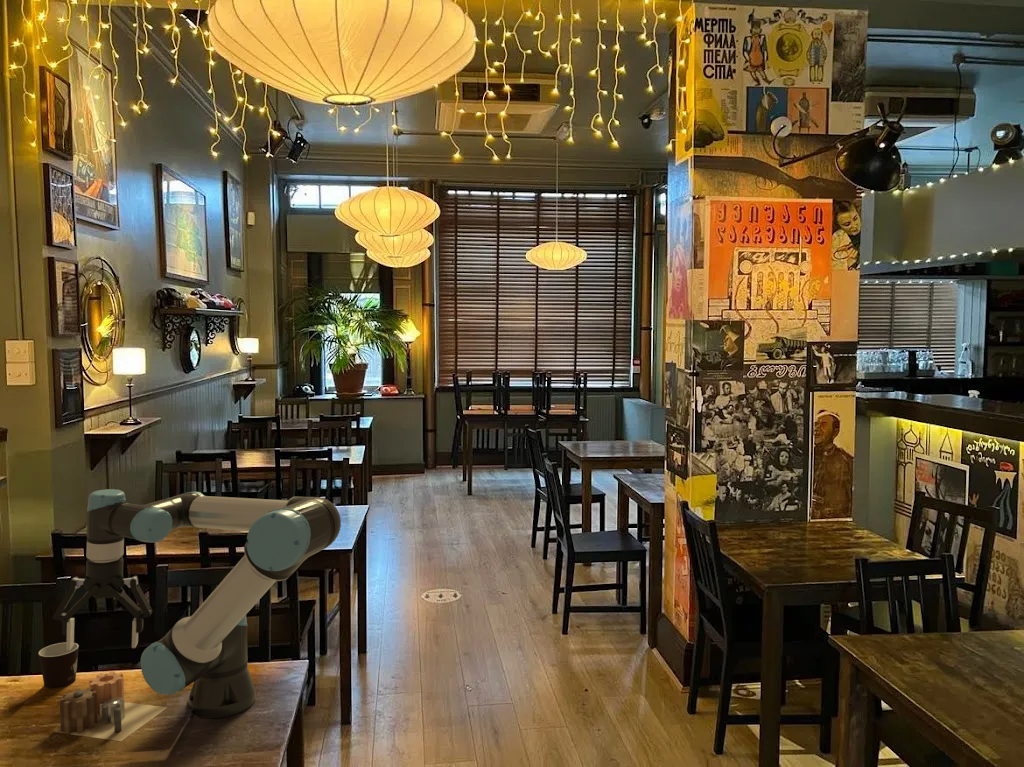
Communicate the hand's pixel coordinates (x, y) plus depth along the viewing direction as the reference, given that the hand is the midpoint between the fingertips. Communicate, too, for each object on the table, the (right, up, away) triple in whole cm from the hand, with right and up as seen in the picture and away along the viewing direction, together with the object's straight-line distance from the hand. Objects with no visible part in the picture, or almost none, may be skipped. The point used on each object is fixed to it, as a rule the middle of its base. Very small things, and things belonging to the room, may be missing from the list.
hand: (102, 646), depth 175 cm
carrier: (+4, -17, -4) cm, 18 cm away
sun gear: (+4, -15, -4) cm, 16 cm away
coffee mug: (-18, -15, +16) cm, 28 cm away
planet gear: (0, -15, +1) cm, 15 cm away
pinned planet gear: (-1, -15, -7) cm, 17 cm away
